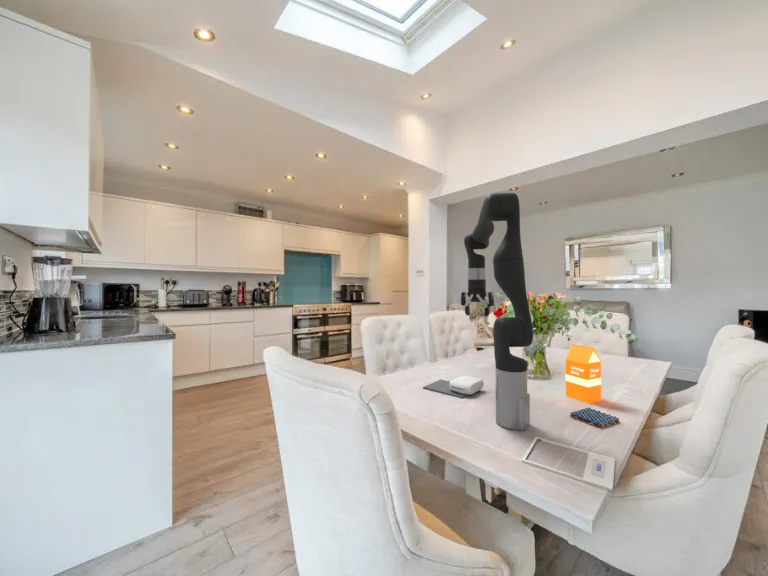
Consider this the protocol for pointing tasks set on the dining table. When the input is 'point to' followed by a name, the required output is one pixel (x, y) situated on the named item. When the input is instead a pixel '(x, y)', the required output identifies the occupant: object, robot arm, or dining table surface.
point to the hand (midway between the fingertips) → (476, 315)
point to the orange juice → (583, 374)
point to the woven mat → (594, 418)
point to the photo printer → (466, 385)
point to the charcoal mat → (443, 388)
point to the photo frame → (596, 468)
